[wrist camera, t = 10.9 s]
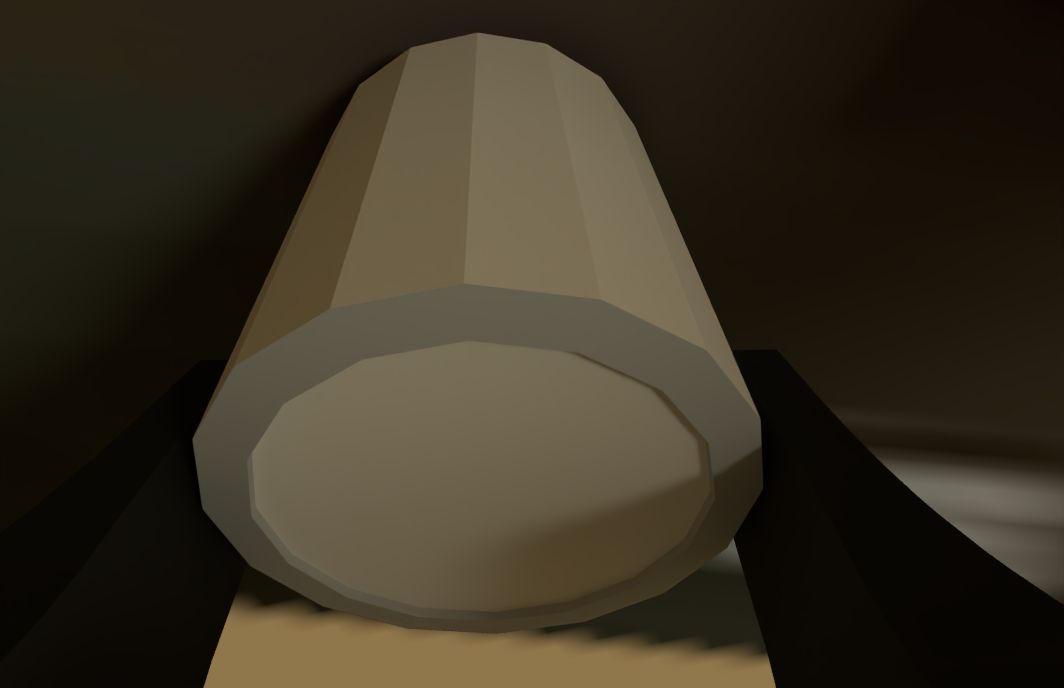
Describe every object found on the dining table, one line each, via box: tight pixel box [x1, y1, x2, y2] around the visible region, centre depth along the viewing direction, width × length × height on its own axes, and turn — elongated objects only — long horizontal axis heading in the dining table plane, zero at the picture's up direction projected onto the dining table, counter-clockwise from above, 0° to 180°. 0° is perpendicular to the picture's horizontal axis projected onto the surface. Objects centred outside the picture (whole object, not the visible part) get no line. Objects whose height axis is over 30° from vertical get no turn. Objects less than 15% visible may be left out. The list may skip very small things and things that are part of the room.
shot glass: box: [192, 33, 763, 634], centre depth 13 cm, size 7×7×7 cm
